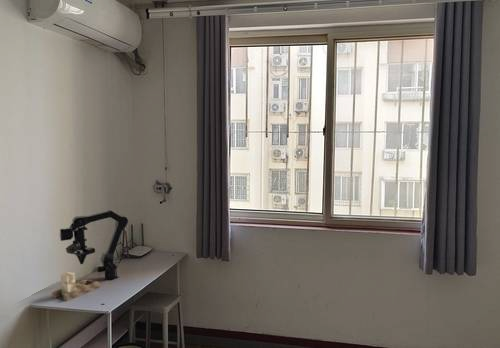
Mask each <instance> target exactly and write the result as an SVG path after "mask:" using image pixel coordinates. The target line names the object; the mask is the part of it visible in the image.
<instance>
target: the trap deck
mask: <svg viewBox="0 0 500 348" xmlns="http://www.w3.org/2000/svg"><path fill="white" fill-rule="evenodd" d="M75 283H76V289H75V290H72V291H70V292H65V291H62V288H59V289H57V290H54V291H52V292H51V295H52V298H53V299H57V300H61V301H65V302H68V301H71V300H73V299H75V298H77V297H80V296H83V295H84V294H88V293H89V292H90V293H91V291H94V290H97V289H100V288H101V283H100V281H97V280H91V279H83V280H80V281H77V282H75Z"/></svg>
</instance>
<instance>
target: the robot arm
mask: <svg viewBox="0 0 500 348" xmlns="http://www.w3.org/2000/svg"><path fill="white" fill-rule="evenodd" d="M108 218H109V219H110V218H111V219H113V220H114V221H115V225H114V230H113V234H112V236H111V239H110V242H109V244H108V247H107V250H106V251H105V253H104V252H102V254H101V258H100V259H99V260H100V264H101V265H102V267H104V268H105V269H104V278H103V280H106V281H113V280H116V279H119V278H120V276H118V273H117V272H118V271H117V268H118V265H116V263H114V258H115V257H114V255H115V251H116V249H117V246H118V243H119V241H120V238H121V235H122V232H123V231H124V230H125V228H126V227H127V226H128V223H129V220H128V218H127V217H126V216H124V215H122V214H121V215H119V214H118V213H116V212H114V211H113V210H110V209H108V210H106V211H102V212H97V213H94V214H90V215H79V216H78V215H77V216H74V217H73V218H72V221H71V224H70V226H69V227H68V228H67V227H66V228H60V229H59V239H60V242H63V241H69V240H72V239H73V238H74V240H72V244H69V246H67V247H65V250H66V253H67V254H70V255H74V256H76V258H77V259H78V261H79V263H80V265H83V264H84V262H85V260H86V257H87V255H91V254H94V253H96V248H95V247H93V246H92V247H88V245H86V242H87V241H88V239H87V238H86V236H85V231H88V227H86V226H87V225H88V224H90V223H94V222H96V221H97V222H98V221H101V220H105V219H108Z"/></svg>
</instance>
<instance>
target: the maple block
mask: <svg viewBox="0 0 500 348" xmlns="http://www.w3.org/2000/svg"><path fill="white" fill-rule="evenodd" d="M75 276H76V274H75V272H69V271H67V272H65V273H63V274H60V281H61V289H62V291H65V292H70V291H72V290H75V289H76V283H77V282H76V277H75Z"/></svg>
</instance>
